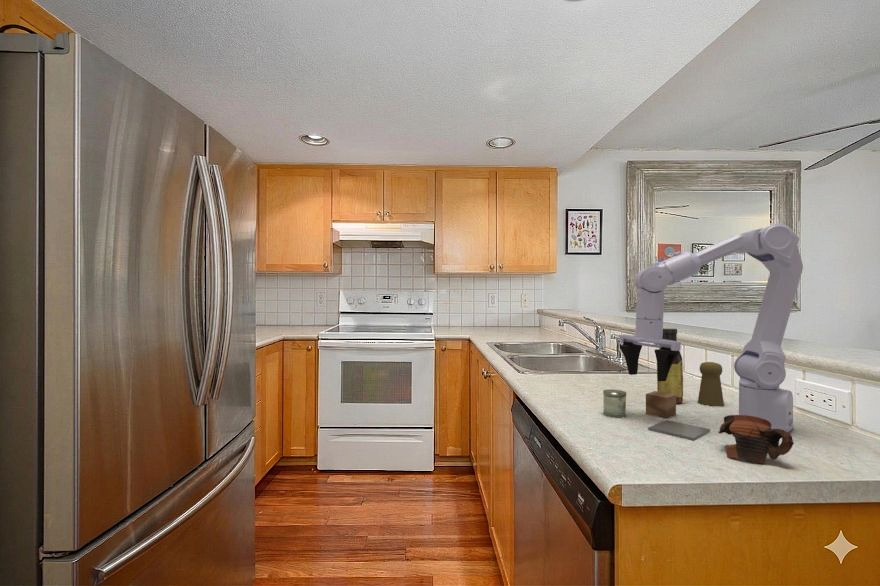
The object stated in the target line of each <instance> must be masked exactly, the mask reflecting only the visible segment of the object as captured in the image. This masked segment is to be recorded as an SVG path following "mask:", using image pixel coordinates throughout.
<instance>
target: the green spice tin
mask: <svg viewBox="0 0 880 586" xmlns="http://www.w3.org/2000/svg"><path fill="white" fill-rule="evenodd" d="M602 394H603V415H604V416H606V417H609V418H613V417H615V418H614V419H616V418H617V419H623V418H622V417H624V418H626V416H627V407H626V406H627V400H626V399H627V392H626V391H625V390H622V389H621V390H620V389H611V388H610V389H609V388H608V389H603V391H602Z"/></svg>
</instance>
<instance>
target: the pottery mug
mask: <svg viewBox="0 0 880 586" xmlns="http://www.w3.org/2000/svg"><path fill="white" fill-rule="evenodd" d="M771 426H772V425H771V423H770V422H769V421H767V420H765V419H762V418H759V417H754V416H747V415H739V414H732V415H731V414H729V415H725V416H724V417H723V423H721V425H720V427H719V430H718V434H720V435H721V434H722V433H723V434H724V433H725V434H726V435H732V437H734V441H735V443H734V444H726V445H725V446H724V448H725V452H726V458H727V459H736V460H737V459H738V460H739V459H740V460H745V461H748V462H753V463H756V464H760V465H766V463H767V462H766V461H767V457H768V456H769V458H770V459H771V460H772V461H775V460H777V459H778V458H779V457H780V456H784V455H786V454H788V453H789V452H790V451H791V449H792V448H793V445H794V444H795V442H794V440H793V436H792V435H791V434H790V432H786V431H785V430H782V429H771ZM780 440H781V443H780Z"/></svg>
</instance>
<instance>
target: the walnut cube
mask: <svg viewBox="0 0 880 586" xmlns="http://www.w3.org/2000/svg"><path fill="white" fill-rule="evenodd" d="M647 414H648V416H653V417H656V418H663V419H665V420H669V419H670V418H672V417H674V416H676V415H677V403H676V394H670V393H664V392H658V391H657V390H656V391H655V390H654V391H650V392H648V393H645V415H647Z"/></svg>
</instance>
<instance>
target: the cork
mask: <svg viewBox="0 0 880 586" xmlns="http://www.w3.org/2000/svg"><path fill="white" fill-rule="evenodd" d="M699 372H700V374H701V378H700V385H699V391H698V398H697V403H698V404H699V403H700V404H699V405H702V404H703V405H702V406H706V405H709V406H708V407H713V406H722V407H724V406H725V403H724V396H723V395H724V394H723V388H722V382H721V375H722V373H723V365H722V364H720V363H718V362H713V361H705V362H701V363H700V364H699ZM723 405H724V406H723Z"/></svg>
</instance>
